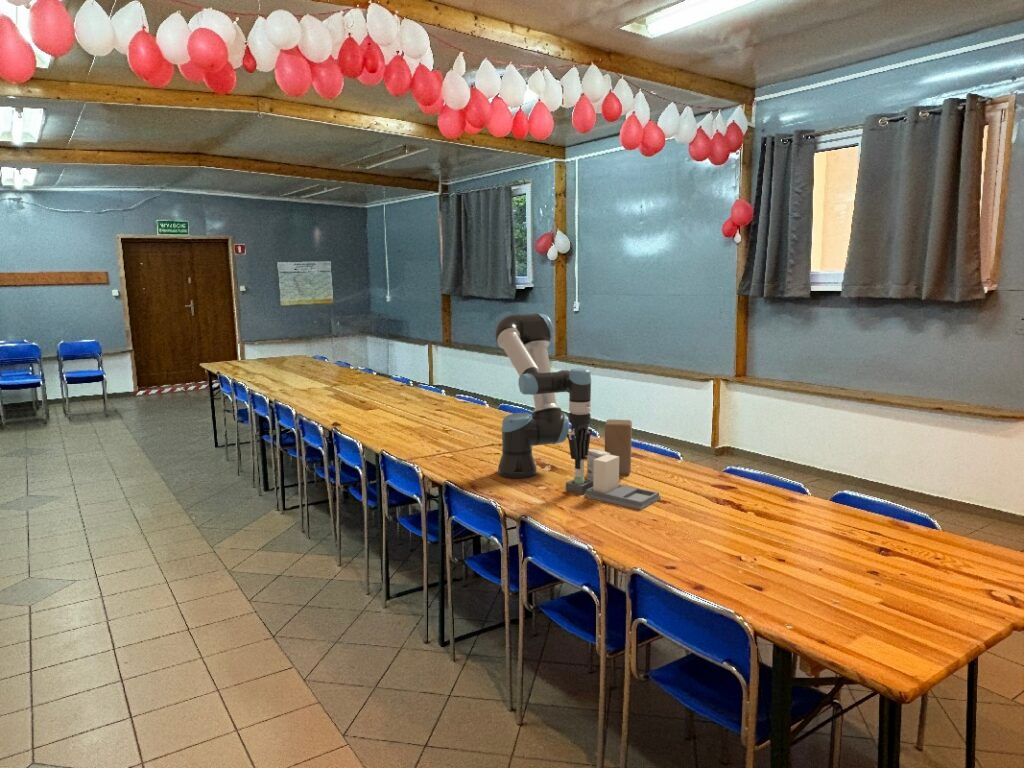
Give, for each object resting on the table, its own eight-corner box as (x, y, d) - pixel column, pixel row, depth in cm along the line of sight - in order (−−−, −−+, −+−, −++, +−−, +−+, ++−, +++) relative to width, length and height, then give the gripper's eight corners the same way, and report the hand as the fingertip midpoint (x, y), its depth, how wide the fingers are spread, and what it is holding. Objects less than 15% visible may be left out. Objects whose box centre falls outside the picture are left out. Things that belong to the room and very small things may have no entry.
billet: (593, 492, 236) (593, 459, 234) (606, 486, 243) (607, 454, 241) (605, 495, 233) (606, 462, 231) (618, 489, 240) (619, 456, 238)
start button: (572, 488, 243) (572, 477, 242) (577, 485, 246) (577, 475, 245) (580, 490, 241) (580, 479, 240) (586, 487, 243) (586, 477, 243)
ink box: (610, 483, 251) (611, 452, 249) (600, 485, 248) (600, 454, 246) (596, 477, 258) (597, 447, 256) (586, 479, 256) (586, 449, 254)
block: (630, 475, 260) (631, 425, 257) (604, 474, 262) (604, 424, 259) (630, 468, 270) (631, 419, 267) (605, 467, 272) (606, 418, 269)
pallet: (584, 496, 236) (584, 490, 236) (605, 486, 247) (605, 480, 246) (640, 509, 222) (641, 502, 222) (660, 498, 233) (660, 492, 233)
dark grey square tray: (565, 490, 243) (565, 482, 242) (576, 485, 248) (576, 478, 248) (582, 494, 238) (582, 486, 238) (592, 489, 244) (592, 481, 243)
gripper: (578, 416, 231) (578, 483, 235) (598, 410, 241) (597, 474, 245) (560, 414, 236) (560, 479, 240) (581, 408, 246) (580, 470, 250)
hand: (579, 476), depth 242 cm, fingers closed
